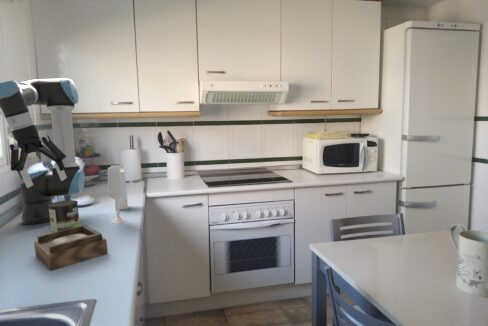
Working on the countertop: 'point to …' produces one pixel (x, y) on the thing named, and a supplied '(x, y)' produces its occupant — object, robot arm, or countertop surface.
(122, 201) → the milk
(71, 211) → the coffee can
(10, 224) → the countertop surface
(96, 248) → the display stand
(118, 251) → the countertop surface
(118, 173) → the champagne flute
